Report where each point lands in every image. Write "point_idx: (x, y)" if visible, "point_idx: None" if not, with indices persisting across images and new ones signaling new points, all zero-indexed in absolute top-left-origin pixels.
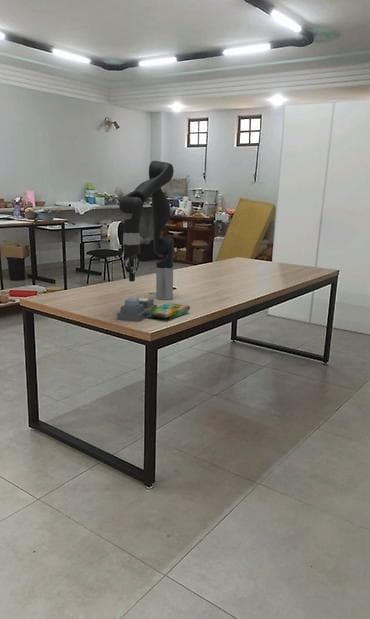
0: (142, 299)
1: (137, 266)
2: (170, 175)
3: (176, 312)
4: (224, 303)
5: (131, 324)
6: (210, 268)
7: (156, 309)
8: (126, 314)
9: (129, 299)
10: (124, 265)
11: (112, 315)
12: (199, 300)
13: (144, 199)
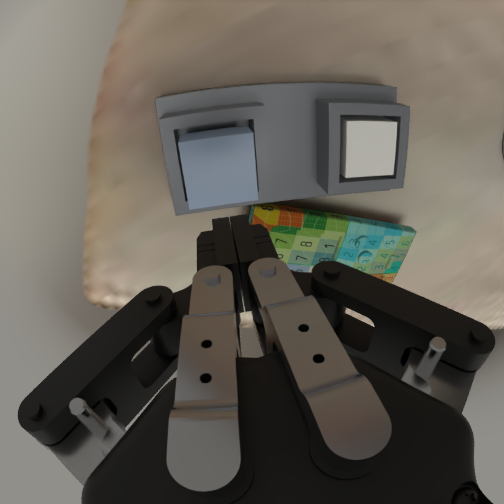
0: (369, 148)
1: (365, 348)
2: None
3: None
4: (467, 306)
5: (126, 197)
6: None
7: (294, 238)
8: (163, 150)
9: (218, 154)
10: (42, 388)
11: (217, 34)
12: (496, 245)
13: None
